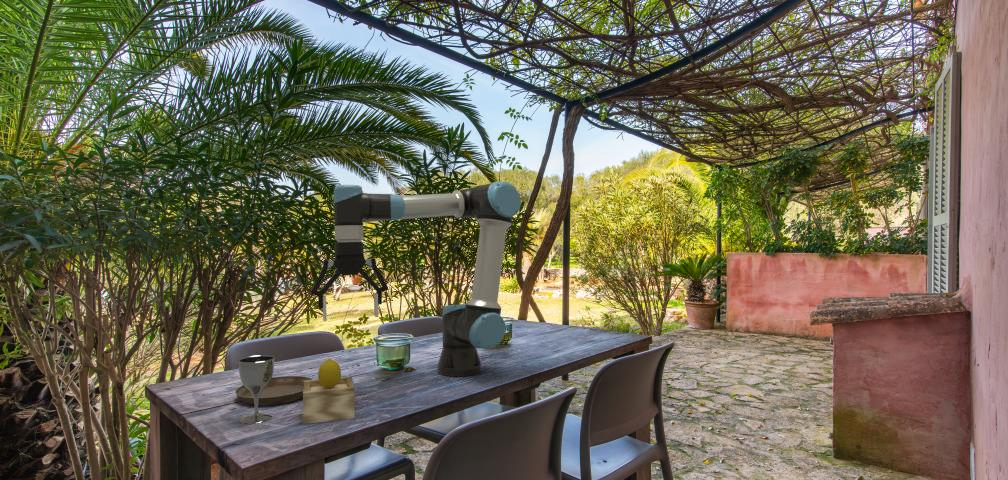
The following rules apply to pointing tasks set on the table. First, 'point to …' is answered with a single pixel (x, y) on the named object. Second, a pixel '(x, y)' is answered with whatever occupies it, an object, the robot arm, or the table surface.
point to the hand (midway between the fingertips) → (351, 318)
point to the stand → (328, 401)
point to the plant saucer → (276, 391)
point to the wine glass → (256, 381)
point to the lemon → (329, 374)
